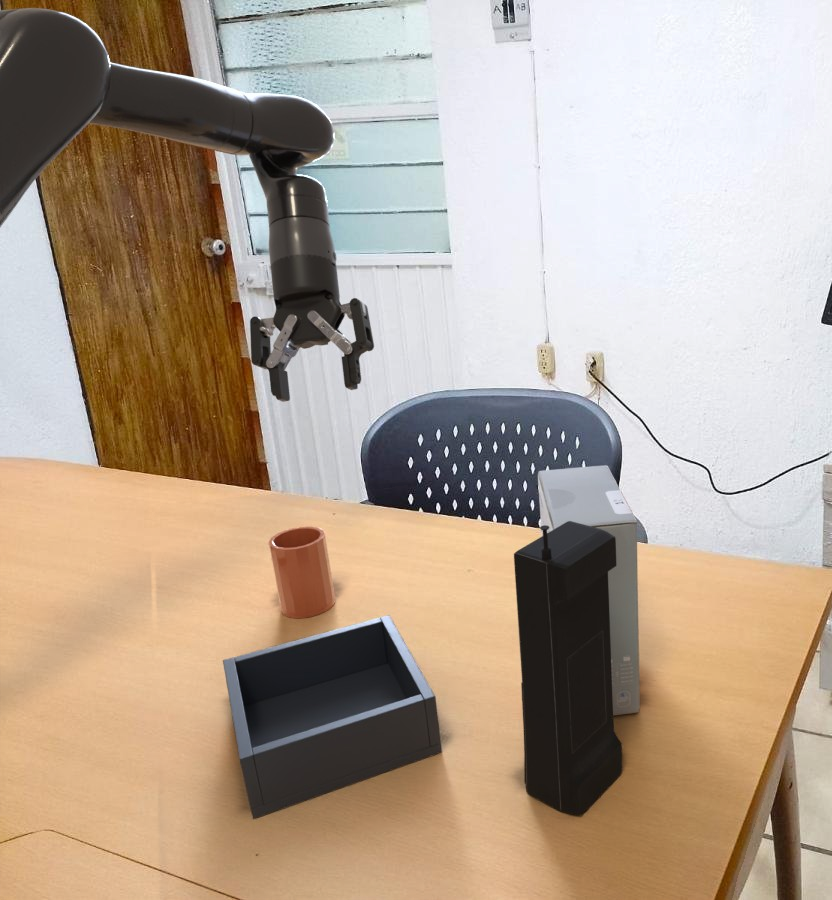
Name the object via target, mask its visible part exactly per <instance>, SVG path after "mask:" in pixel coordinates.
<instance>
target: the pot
mask: <svg viewBox="0 0 832 900" xmlns="http://www.w3.org/2000/svg"><path fill="white" fill-rule="evenodd" d="M268 548H269V553H270V557H271V563H272V568H273V574H274V579H275V585H276V590H277V595H278V602H279V606H280V610H281V613H282V614H283V616H285V617H288V618H290V619H291V618H292V619H307V618H311V617H316V616H318V615H321V614H323V613H325V612H327V611H328V610H330V609H331V608H332V607H333V606H334V605H335V603H336V595H335V588H334V582H333V576H332V575H333V574H332V570H331V569H332V568H331V562H330V557H329V550H328V544H327V538H326V533H325V530H323V529H322V528H320V527H317V526H316V527H315V526H298V527H293V528H288V529H285V530H282V531H280V532H278V533H276V534H274V535H273V536H271V538H270V539H269V541H268Z"/></svg>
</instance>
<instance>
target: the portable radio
mask: <svg viewBox="0 0 832 900" xmlns="http://www.w3.org/2000/svg"><path fill="white" fill-rule="evenodd" d="M539 529H540V531H541V530H543V536H542V535H541V536H540V537H538V538H537V539H534V541H532V542H530V543H528V544H526V545H525V546H523V547H521V548H520V549H518V550H516V551H515V552H514V553H513V565H514V579H515V581H514V582H515V595H516V610H517V623H518V624H517V625H518V627H517V628H518V640H519V642H518V643H519V656H520V668H521V669H520V671H521V684H520V685H521V687H520V688H521V705H522V706H521V707H522V709H521V710H522V723H523V724H522V727H523V753H524V754H523V760H524V761H523V762H524V763H523V768H524V769H523V772H524V773H523V776H524V777H523V779H524V784H525V792H526V794H527V795H528V796H530V797H531V798H533V799H536V800H538V801H540V802H541V803H543V804H546V805H547V806H549V807H551V808H553V809H555V810H557V811H559V812H562V813H565V814H568V815H575V816H583V815H584V814H585V813H586V812H587V811H588V810H589V809H590V808H591V807H592V806H593V804H595V803H596V802H597V801H598V799H600V797H601V796H602V795H604V793H605V792H606V791H607V790H608V789H609V788H610V787H611V786H612V784H613V783H615V781H616V780H618V778H619V777H621V775H622V773H623V744H622V742H621V740H620V738H619V737H618V735H617V733H616V731H615V724H614V715H613V698H612V670H611V642H610V614H609V587H608V571H610V570H611V569H613V568H614V567H615V566H617V565H616V539H615V537H614V536H613V535H611V534H610V533H608V532H606V531H604V530H602V529H599V528H595V527H591V526H588V525H584V524H580V523H576V522H573V521H568V522H566V523H564V524H562V525H561V526H559V527H557V528H556V529H554V530H552V531H550V532H549V533H547V530H548V529H549V526H547V525H544V526H541V525H540V526H539Z"/></svg>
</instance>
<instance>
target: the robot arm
mask: <svg viewBox="0 0 832 900" xmlns="http://www.w3.org/2000/svg"><path fill="white" fill-rule="evenodd" d="M88 124H89V125H96V126H103V127H109V128H114V129H119V130H120V129H121V130H124V131H125V130H126V131H131V132H135V133H140V134H144V135H148V136H153V137H157V138H159V139H160V138H161V139H163V140H164V139H165V140H169V141H173V142H177V143H181V144H185V145H188V146H193V147H197V148H201V149H205V150H211V151H213V152H214V151H215V152H219V153H224V154H228V155H234V156H249V159H250V162H251V164H252V167H253V169H254V171H255V174H256V177H257V180H258V182H259V185H260V187H261V189H262V191H263V195H264V197H265V200H266V212H267V220H268V222H267V223H268V254H269V263H270V273H271V275H270V276H271V284H272V285H271V286H272V293H273V296H272V297H273V301H274V306H275V312H274V315H273V317H267V318H260V317H259V316H252V317H251V318H250V319H249V331H250V333H249V334H250V362H251V364H252V365H254V366H256V367H259V368H261V369H263V370H267V371H268V376H269V386H270V393H271V395H272V396H273V397H275V399H276V400H277V401H279V402H283V403H284V402H285V403H286V402H289V401H290V400H291V395H290V385H289V375H288V371H287V370H286V369H287V367H288V365H289V363H290V361H291V360H292V359H293V358H294V357H296V355H298V352H299V350H300V348H301V349H303V350H305V349H310V348H313V347H315V346H320V347H321V346H327V345H329V343H330V342H332V343H333V344H334V345H335V346H336V347H337V348H338V349H339V350H340V351H341V352H342V353H343V356H341V364H342V365H341V366H342V374H343V382H344V387H345V389H348V390H350V391H354V390H358V387H359V386H358V385H360V384H361V382H362V375H361V374H362V373H361V364H360V357H362V355H363V354H364V353H366V352H371V351H373V350H374V348H375V344H374V343H375V342H374V337H373V332H372V326H371V320H370V315H369V309H368V306H367V304H365V303H364V302H363V301H361V300H360V299H359V298H356V297H353V298H351V300H349V302H348V303H343V304H341V301H340V300H341V299H340V297H341V296H340V295H341V294H340V287H339V278H338V277H339V276H338V267H337V253H336V251H335V244H334V240H333V236H332V232H331V225H330V224H331V223H330V216H329V207H328V200H327V194H326V190H325V188H324V186H323V185H322V183H321V182H320V181H318V180H317V179H315V178H314V177H312V176H308V175H303V174H297V173H298V169H300V168H302V167H304V166H306V165H309V164H311V163H314V162H315V161H317V160H320V159H322V158H324V157H325V156H326V155H327V154H328V153H329V152H330V151H331V150H332V147H333V145H334V141H335V130H334V127H333V123H332V121H331V120H330V117H329V116H328V115H327V114H326V112H325V111H324V110H323V109H322V108H321V107H320V106H318V105H317V104H315V103H313V101H310V100H309V99H307V98H303V97H301V96H296V95H290V94H280V93H279V94H278V93H266V92H262V93H260V92H259V93H257V92H256V93H252V92H244V91H240V90H238V89H235V88H232V87H229V86H226V85H223V84H219V83H216V82H214V81H209V80H205V79H202V78H197V77H195V76H188V75H184V74H177V73H172V72H166V71H158V70H153V69H148V68H141V67H135V66H130V65H124V64H120V63H116V62H112V61H110V58H109V54H108V51H107V49H106V47H105V44H104V42H103V41H102V39H101V38H100V36H99V35H98V34H97V32H96V31H95V30H93V28H91V27H90V26H89V25H88V24H87V23H85V22H84V21H82V20H81V19H79V18H77V17H76V16H74V15H71V14H69V13H67V12H62V11H59V10H55V9H48V8H40V7H37V8H36V7H26V8H25V7H24V8H12V9H1V10H0V228H2V226H3V225H4V223H5V222H6V220H7V219H8V218H9V216H10V215H11V214H12V212H13V211H14V209H16V207H17V205H18V204H19V203H20V201H21V199H22V198H23V196H24V195H25V193H26V192H28V190H29V188H30V187H31V185H32V184H33V183H34V182H35V180H36V179H37V178H38V177H39V176H40V175H41V174H42V172H43V171H44V170H45V169H46V168H47V167H48V166H49V165H50V164H51V162H53V160H54V159H55V158H56V157H57V156H58V155H59V154H60V153H61V152H62V151H63V150H64V149H65V148H66V147H67V146H68V145H69V144H70V143H71V142H72V140H74V139H75V137H77V136H78V135H79V134H80V133H81V131H83V130H84V128H86V126H87V125H88ZM346 316H347V318H348V319H350V320H351V321H352V325H353V330H354V336H355V341H353V342H352V341H351V340H350V339H349V338H348V337H347V336H346V335H345V334H344V333H343V332H342V331H341V330H340V329H339V328H340V327H341V325H342V323H343V320H344V319H345V317H346ZM275 329H277V330H278V331H279V334H277V335H278V336H277V337H276V339H275V341H273V342H274V343H273V346H271V345H272V344H271V337H272V336H274V330H275ZM271 347H273V349H271Z"/></svg>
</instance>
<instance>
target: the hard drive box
mask: <svg viewBox="0 0 832 900" xmlns="http://www.w3.org/2000/svg"><path fill="white" fill-rule="evenodd" d="M537 482H538V483H537V485H538V499H539V501H538V502H539V514H540V515H539V517H540V527H541V526H544V525H547V526H549V529H548V530H547V533H549V532H550V531H552V530H554V529H556V528H557V527H559V526H561V525H562V524H564V523H566V522H568V521H573V522H576V523H580V524H584V525H588V526H591V527H595V528H599V529H602V530H604V531H606V532H608V533H610V534H611V535H613V536H614V537H615V539H616V565H617V566H615V567H614V568H613V569H611V570H610V571H608V587H609V614H610V642H611V670H612V698H613V716H620V715H628V714H634V713H635V714H636V713H639V712H640V709H641V707H640V706H641V705H640V702H641V701H640V700H641V699H640V698H641V697H640V691H641V690H640V639H639V637H640V636H639V635H640V633H639V589H638V588H639V587H638V586H639V583H638V581H639V580H638V579H639V578H638V575H639V574H638V573H639V572H638V520H637V518H636V517H635V515H634V512H633V511H632V509H631V507H630V505H629V502H628V501H627V500H626V497H625V496H624V494H623V492H622V491H621V488H620V487H619V485H618V483H617V481H616V479H615V477H614V475H613V474H612V472H611V470H610V467H609V466H608V465H592V466H579V467H567V468H557V469H545V470H539V471H538V473H537ZM540 532H541V533H540V534H541V535H540V536H541V537H542V536H543V530H541V529H540Z"/></svg>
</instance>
